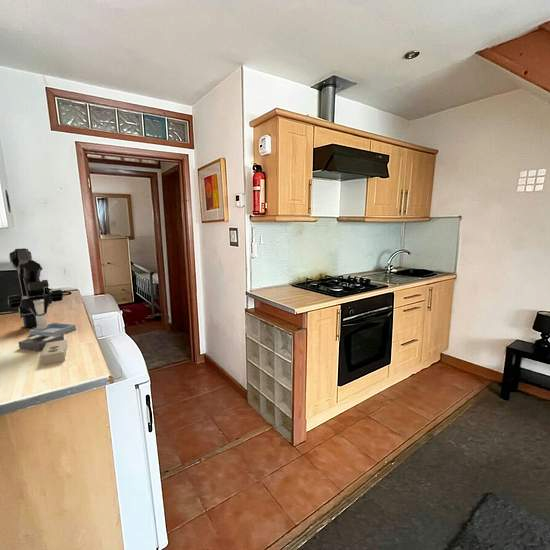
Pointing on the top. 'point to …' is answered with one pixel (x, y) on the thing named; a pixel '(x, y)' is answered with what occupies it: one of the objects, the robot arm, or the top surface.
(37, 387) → the top surface
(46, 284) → the robot arm
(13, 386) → the top surface
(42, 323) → the light bulb
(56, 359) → the electrical outlet
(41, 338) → the socket block
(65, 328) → the parts tray
